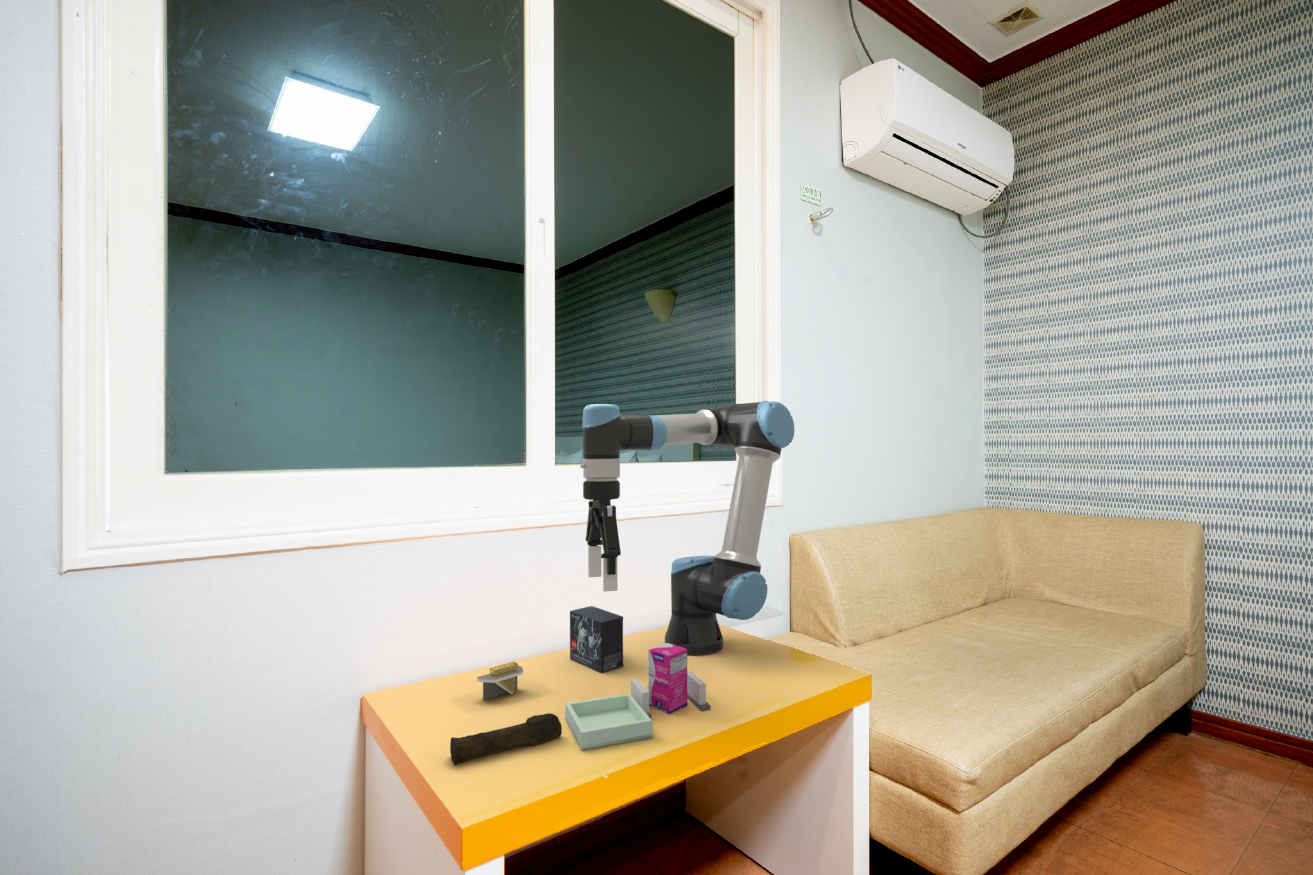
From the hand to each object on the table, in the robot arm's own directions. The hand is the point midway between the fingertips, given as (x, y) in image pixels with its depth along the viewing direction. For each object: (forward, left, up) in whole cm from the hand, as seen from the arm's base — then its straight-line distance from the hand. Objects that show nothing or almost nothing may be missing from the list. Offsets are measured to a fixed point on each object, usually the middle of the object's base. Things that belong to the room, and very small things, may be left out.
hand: (602, 583), depth 125 cm
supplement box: (-11, +8, -24) cm, 28 cm away
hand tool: (+21, +13, -24) cm, 34 cm away
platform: (+19, -9, -24) cm, 32 cm away
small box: (-4, -21, -24) cm, 32 cm away
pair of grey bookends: (-11, +8, -24) cm, 27 cm away
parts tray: (+3, +13, -24) cm, 27 cm away
